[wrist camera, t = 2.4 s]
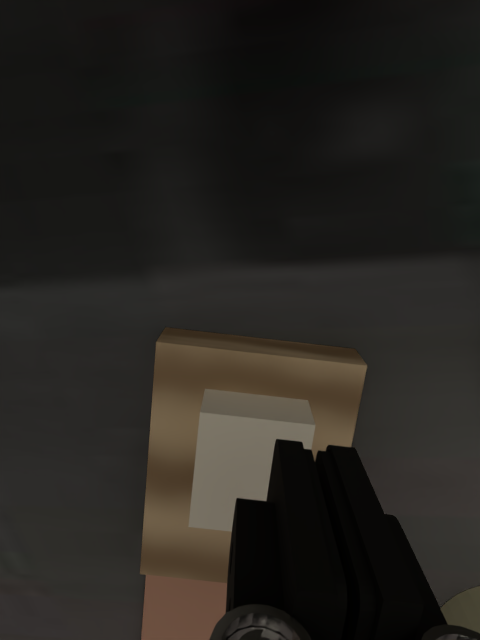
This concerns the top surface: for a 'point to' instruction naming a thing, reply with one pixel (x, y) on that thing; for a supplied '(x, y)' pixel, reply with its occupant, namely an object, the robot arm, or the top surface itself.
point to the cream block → (240, 450)
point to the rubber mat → (181, 608)
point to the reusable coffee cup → (464, 609)
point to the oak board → (183, 420)
